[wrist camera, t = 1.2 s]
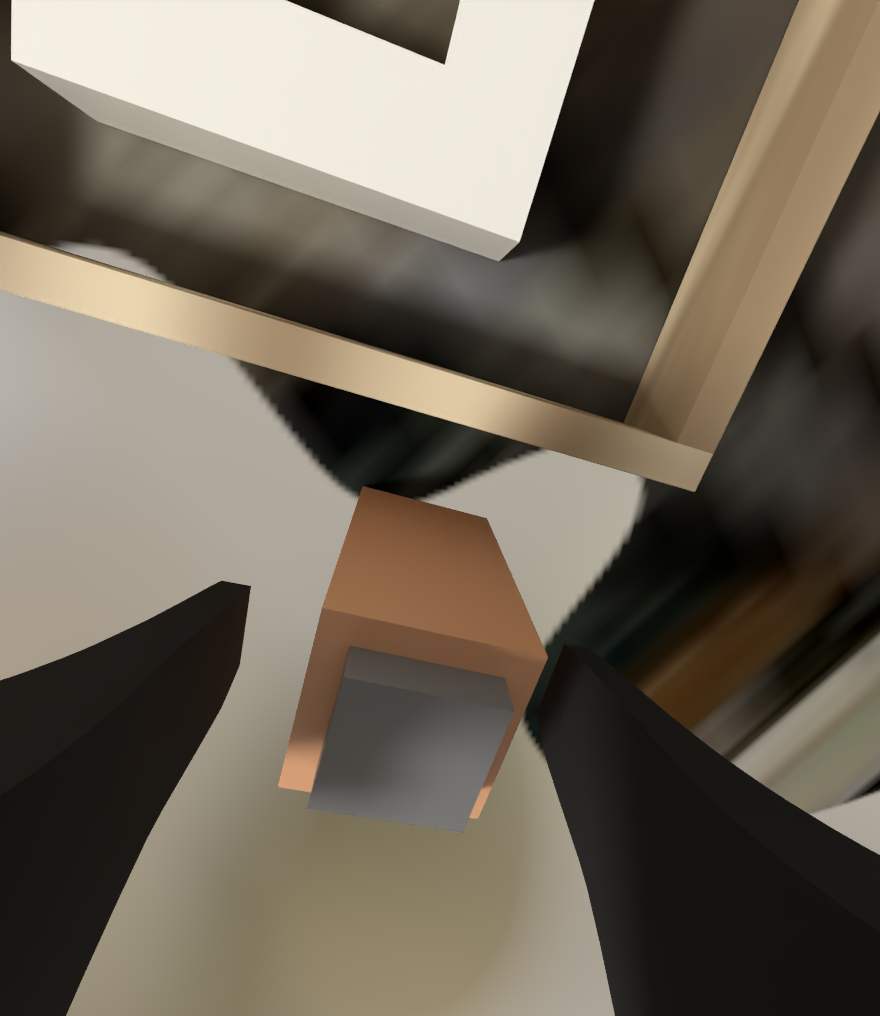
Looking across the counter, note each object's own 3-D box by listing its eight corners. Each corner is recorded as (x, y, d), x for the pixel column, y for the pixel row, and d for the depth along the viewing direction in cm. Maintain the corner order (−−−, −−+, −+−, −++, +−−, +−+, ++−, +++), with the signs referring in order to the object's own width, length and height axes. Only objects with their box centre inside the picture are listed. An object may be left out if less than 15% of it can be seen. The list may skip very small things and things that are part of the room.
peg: (486, 518, 15) (561, 689, 8) (450, 623, 16) (483, 859, 9) (362, 485, 14) (312, 636, 7) (334, 598, 15) (265, 828, 8)
